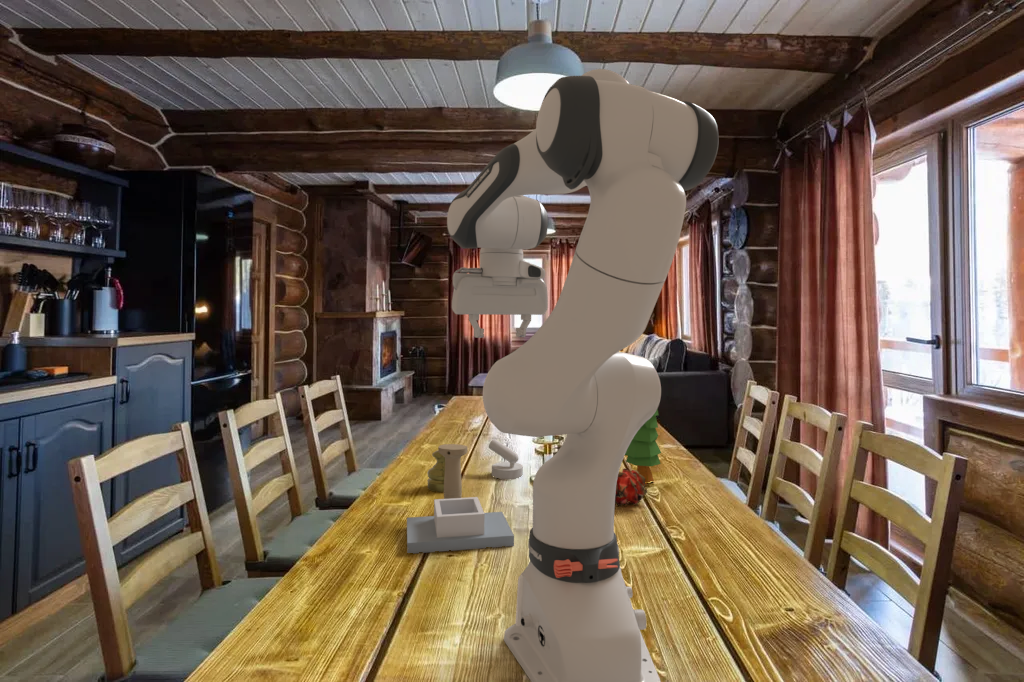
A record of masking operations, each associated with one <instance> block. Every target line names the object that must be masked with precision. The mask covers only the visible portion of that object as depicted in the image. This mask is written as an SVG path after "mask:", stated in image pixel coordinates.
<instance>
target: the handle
mask: <svg viewBox="0 0 1024 682" xmlns="http://www.w3.org/2000/svg"><path fill="white" fill-rule="evenodd" d="M437 450H438V452H439V453H440V454H441V455H443V456H444V457H445V477H444V492H443V499H451V498H463V495H462V493H463V489H462V487H463V485H462V483H463V482H462V470H461V468H462V466H461V464H462V463H461V462H462V461H461V459H462V457H464V456H466V454H467V453H468V450H469V449H468V446H467V445H463V444H457V443H449V444H447V443H445V444H444V443H443V444H440V445H439V446H438V449H437Z"/></svg>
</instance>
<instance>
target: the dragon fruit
mask: <svg viewBox="0 0 1024 682" xmlns="http://www.w3.org/2000/svg"><path fill="white" fill-rule="evenodd" d="M645 486H646V484H645V478H644V477H643V476H642V475H640V474H639V473H638V471H637V469H632V470H629V469H628V468H623V469H622V472H621V471H619V473H618V477H617V483H616V494H615V504H616V506H624V505H623V504H625V505H629V504H630V503H631V504H632V503H633V504H632V505H634V504H635V505H637V504H638V503H640V502H641V500H642V499H643V498H644V496H646V495H647V493H648V490H647V489H645Z"/></svg>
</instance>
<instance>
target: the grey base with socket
mask: <svg viewBox="0 0 1024 682" xmlns="http://www.w3.org/2000/svg"><path fill="white" fill-rule="evenodd" d="M406 540H407V541H406V545H407V547H406V549H407V550H406V551H407V553H413V554H420V553H419V552H423V553H436V552H435V551H439V552H451V551H462V550H463V551H464V550H477V549H478V550H479V549H487V548H486V547H492V548H502V546H505V547H514V546H515V535H514V532H513V531H512V529H511V526H510V525H509V523H508V521H507V519H506V516H505V515H504V513H503V511H491V512H489V511H488V512H484V509H483V506H482V504H481V502H480V499H479V497H478V496H471V497H470V496H469V497H462V498H451V499H444V498H438V499H436V498H435V499H433V515H432V516H431V515H430V516H429V515H428V516H415V517H413V516H412V517H406ZM449 550H451V551H449ZM423 553H422V554H423Z"/></svg>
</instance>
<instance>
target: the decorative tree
mask: <svg viewBox="0 0 1024 682" xmlns="http://www.w3.org/2000/svg"><path fill="white" fill-rule="evenodd" d="M658 409H659V408H657V410H656V412H655V413H654V415H653V416H652V417H651V418H650V419H649V420H647V421H646V422H645V423H644V424H643V425H642V426H641V428H640V429H639V430H638V431H637V433H636V434H635V436H634V437H633V439H632V441H631V443H630V445H629V447H628V449H627V451H626V453H625V455H624V456H627V457H626V460H625V462H626V463H627V464H628V463H629V464H631V465H633V466H636V467H637V469H636V470H637V471H638V473H639V474H640V475H642V476H643V477H644V478H645V482H650V481H654V476H653V472H652V469H651V467H655V466H658V465H661V464H662V463H661V461H660V457H659V455H660V454H661V453H662V451H661V449H660V447H659V445H658V442H657V439H658V438H659V434H658V431H657V428H659V424H658V421H657V416H659V410H658ZM654 482H655V481H654Z"/></svg>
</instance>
